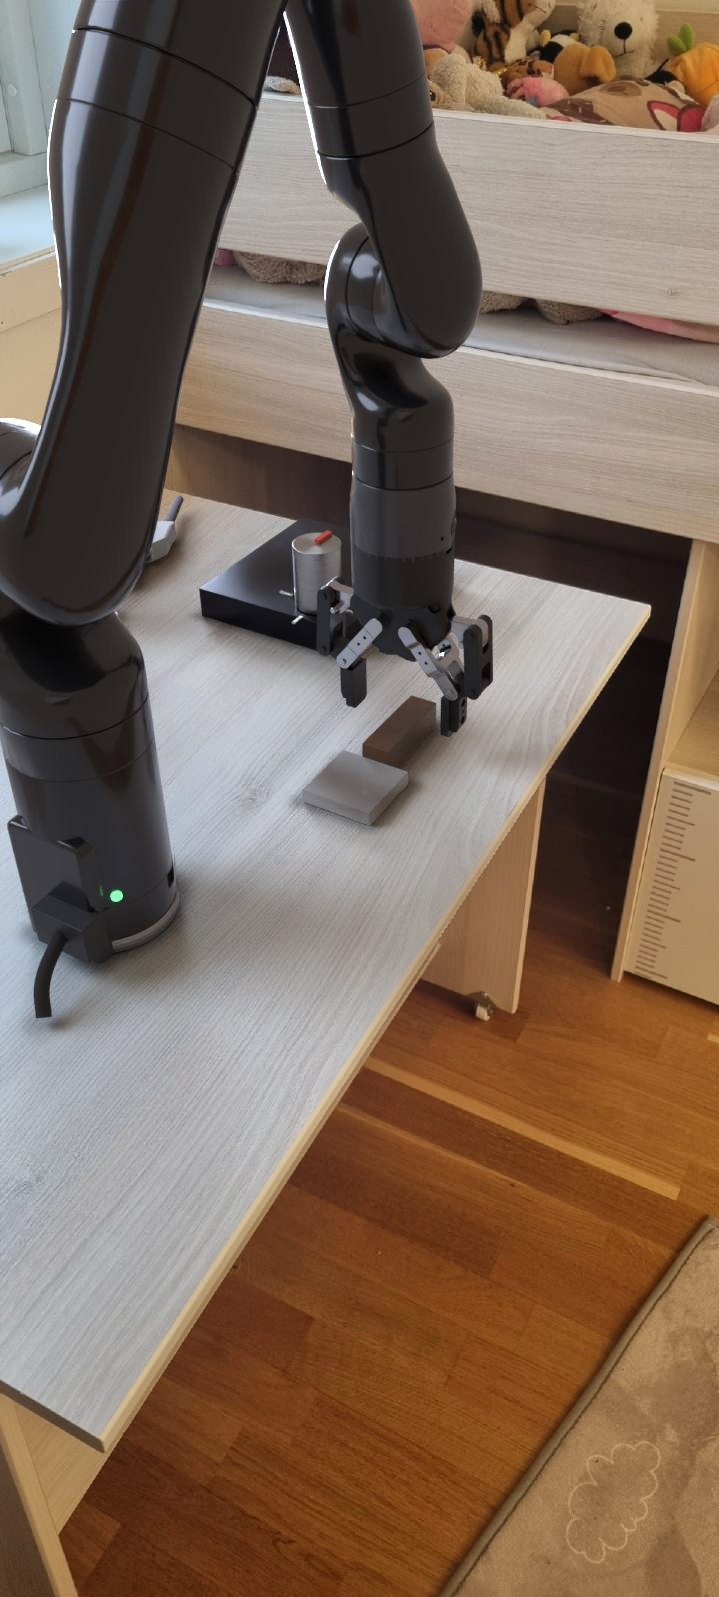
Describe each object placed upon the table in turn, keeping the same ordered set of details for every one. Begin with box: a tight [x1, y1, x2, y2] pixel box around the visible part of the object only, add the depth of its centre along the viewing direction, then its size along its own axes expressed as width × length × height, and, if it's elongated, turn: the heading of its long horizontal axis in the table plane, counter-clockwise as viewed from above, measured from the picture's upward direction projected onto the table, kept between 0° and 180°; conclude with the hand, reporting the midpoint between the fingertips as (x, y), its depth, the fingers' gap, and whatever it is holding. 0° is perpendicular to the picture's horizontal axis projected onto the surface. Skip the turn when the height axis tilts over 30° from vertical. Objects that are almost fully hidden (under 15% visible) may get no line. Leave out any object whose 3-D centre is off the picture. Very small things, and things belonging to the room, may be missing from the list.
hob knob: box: [292, 531, 342, 615], centre depth 108 cm, size 4×4×6 cm
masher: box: [301, 695, 437, 826], centre depth 94 cm, size 14×6×2 cm, turn 149°
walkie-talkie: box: [146, 495, 185, 563], centre depth 125 cm, size 9×4×20 cm
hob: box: [198, 517, 363, 652], centre depth 116 cm, size 19×16×3 cm
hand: (402, 716), depth 96 cm, fingers open, 8 cm apart
